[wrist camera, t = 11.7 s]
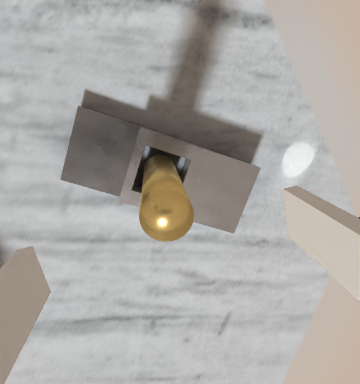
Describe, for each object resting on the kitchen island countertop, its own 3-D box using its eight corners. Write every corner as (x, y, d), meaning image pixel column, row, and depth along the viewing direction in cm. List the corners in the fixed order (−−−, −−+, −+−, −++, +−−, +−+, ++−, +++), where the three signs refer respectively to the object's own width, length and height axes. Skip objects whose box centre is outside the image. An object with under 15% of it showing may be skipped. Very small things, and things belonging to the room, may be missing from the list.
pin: (140, 158, 33) (133, 196, 18) (171, 151, 33) (188, 184, 19) (148, 188, 34) (146, 246, 20) (178, 181, 34) (198, 234, 20)
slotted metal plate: (64, 176, 33) (56, 183, 30) (81, 106, 31) (74, 105, 28) (228, 223, 36) (235, 233, 33) (252, 163, 34) (262, 168, 31)
